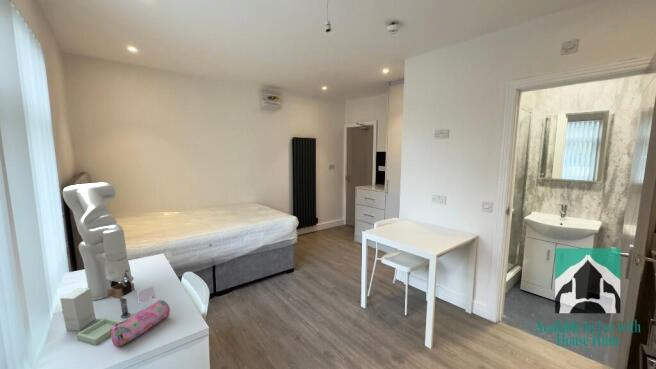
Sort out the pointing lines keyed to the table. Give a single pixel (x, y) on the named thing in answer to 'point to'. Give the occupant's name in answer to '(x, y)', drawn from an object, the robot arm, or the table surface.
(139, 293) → the mobile phone
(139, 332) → the pencil case
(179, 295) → the table surface
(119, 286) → the brown square frame
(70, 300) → the skincare box
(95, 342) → the tray
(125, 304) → the grey stamp
